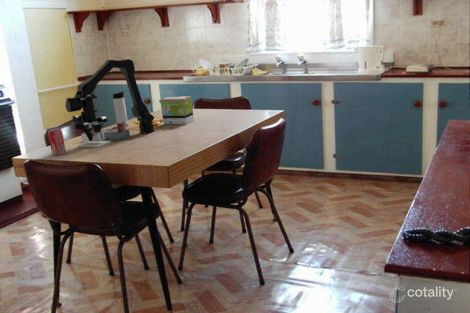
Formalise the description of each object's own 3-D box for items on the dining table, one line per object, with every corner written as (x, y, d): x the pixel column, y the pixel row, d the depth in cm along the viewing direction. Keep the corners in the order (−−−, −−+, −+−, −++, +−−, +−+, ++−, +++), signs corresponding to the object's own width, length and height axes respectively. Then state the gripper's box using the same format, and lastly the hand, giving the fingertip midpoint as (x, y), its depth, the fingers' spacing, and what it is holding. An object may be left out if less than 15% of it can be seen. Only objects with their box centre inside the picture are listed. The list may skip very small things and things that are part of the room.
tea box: (163, 125, 296) (159, 99, 292) (171, 121, 305) (168, 96, 301) (186, 124, 290) (183, 98, 286) (194, 120, 299) (191, 95, 295)
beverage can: (54, 153, 248) (49, 128, 245) (67, 152, 249) (62, 127, 246) (50, 156, 242) (46, 131, 239) (64, 155, 243) (59, 129, 240)
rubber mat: (110, 142, 262) (110, 140, 262) (98, 146, 253) (98, 145, 253) (91, 142, 267) (91, 141, 267) (78, 146, 258) (78, 145, 258)
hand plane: (130, 136, 271) (127, 121, 269) (122, 139, 264) (119, 124, 262) (95, 137, 279) (93, 122, 277) (87, 140, 273) (84, 125, 271)
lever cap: (105, 139, 260) (103, 130, 259) (99, 141, 255) (97, 132, 254) (89, 139, 264) (87, 130, 263) (82, 141, 259) (81, 132, 258)
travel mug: (126, 126, 302) (121, 92, 297) (115, 127, 303) (110, 93, 298) (130, 124, 308) (125, 90, 303) (120, 125, 309) (115, 91, 304)
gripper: (87, 105, 267) (92, 135, 271) (62, 112, 251) (68, 144, 254) (105, 105, 263) (110, 135, 266) (81, 112, 246) (87, 144, 250)
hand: (94, 139), depth 259 cm, fingers closed on lever cap, 5 cm apart
